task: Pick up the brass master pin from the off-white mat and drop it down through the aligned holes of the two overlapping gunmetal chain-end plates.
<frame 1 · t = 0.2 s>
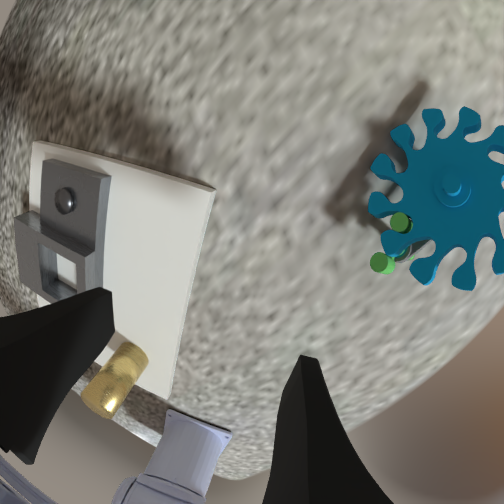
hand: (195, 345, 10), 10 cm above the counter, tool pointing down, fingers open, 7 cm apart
plate a: (74, 266, 21), resting on mat
mat: (96, 279, 23), on the counter
plate b: (65, 272, 20), resting on mat
gear: (420, 185, 15), on the counter
pin: (134, 355, 24), point 1 cm above the counter, touching mat
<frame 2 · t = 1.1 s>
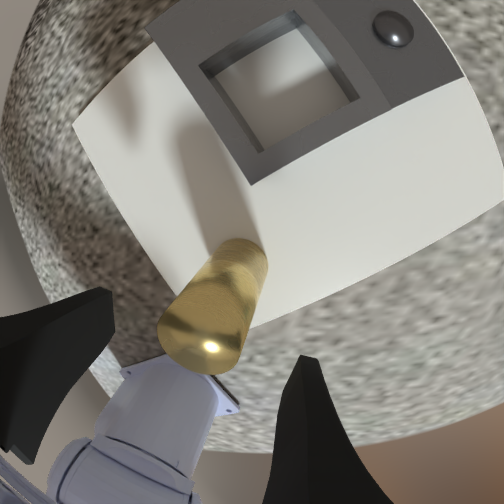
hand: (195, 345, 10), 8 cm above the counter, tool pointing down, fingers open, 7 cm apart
plate a: (282, 86, 12), resting on mat
mat: (287, 130, 14), on the counter
plate b: (279, 81, 11), resting on mat
pin: (240, 265, 16), point 1 cm above the counter, touching mat
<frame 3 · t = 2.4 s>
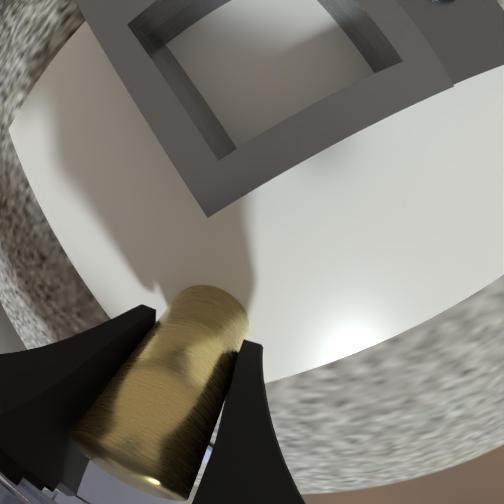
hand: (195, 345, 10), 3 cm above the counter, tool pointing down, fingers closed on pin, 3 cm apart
plate a: (266, 51, 7), resting on mat
mat: (277, 120, 9), on the counter
plate b: (260, 38, 6), resting on mat
pin: (209, 320, 11), point 1 cm above the counter, touching gripper, mat
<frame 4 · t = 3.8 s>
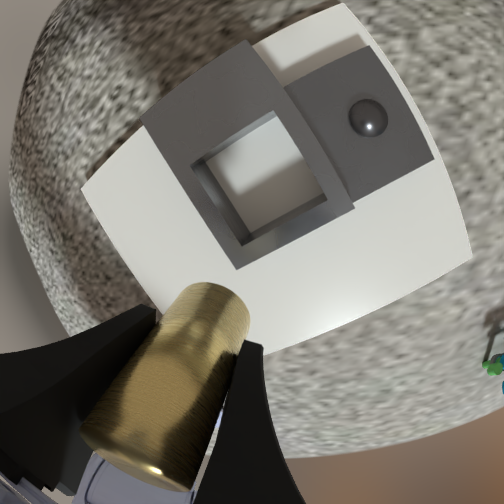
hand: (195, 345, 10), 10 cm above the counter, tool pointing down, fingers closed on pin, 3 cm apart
plate a: (264, 175, 16), resting on mat
mat: (269, 209, 17), on the counter
plate b: (260, 177, 14), resting on mat
pin: (212, 316, 11), point 8 cm above the counter, touching gripper
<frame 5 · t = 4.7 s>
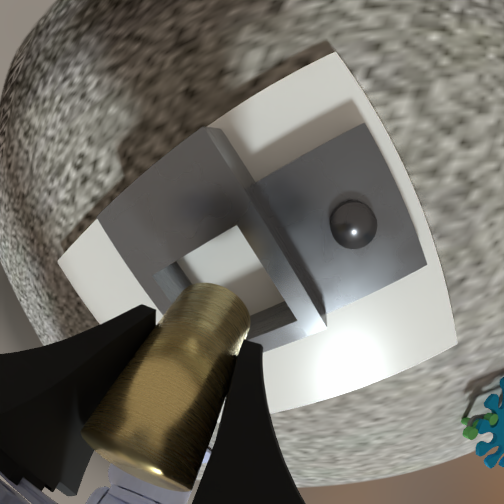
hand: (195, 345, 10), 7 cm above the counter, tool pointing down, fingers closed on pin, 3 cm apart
plate a: (234, 275, 15), resting on mat
mat: (243, 302, 16), on the counter
plate b: (228, 286, 14), resting on mat
gear: (499, 392, 16), on the counter
pin: (212, 316, 11), point 5 cm above the counter, touching gripper
when the fingers open (4 cm above the counter, at t = 5.5 s): pin stays where it is, resting on mat.
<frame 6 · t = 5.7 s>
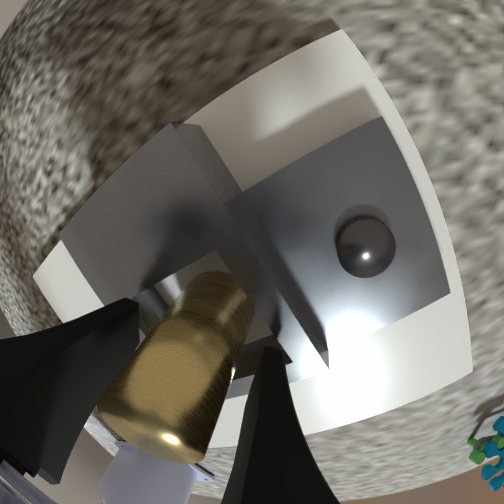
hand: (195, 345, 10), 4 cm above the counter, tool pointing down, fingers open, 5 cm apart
plate a: (219, 302, 12), resting on mat
mat: (232, 329, 14), on the counter
plate b: (211, 317, 11), resting on mat
pin: (219, 303, 12), point 1 cm above the counter, touching mat
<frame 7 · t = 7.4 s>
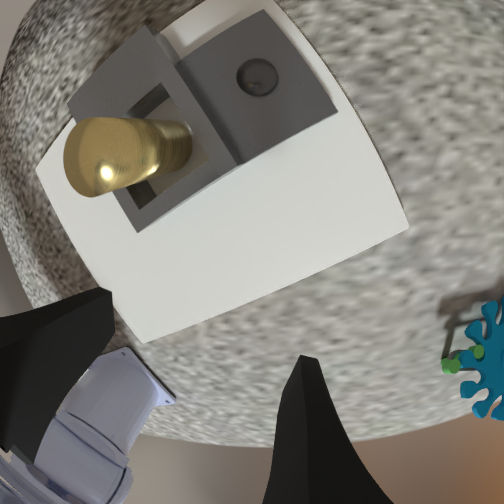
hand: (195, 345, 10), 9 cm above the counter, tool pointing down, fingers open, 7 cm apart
plate a: (168, 145, 15), resting on mat
mat: (179, 178, 17), on the counter
plate b: (158, 145, 14), resting on mat
gear: (484, 329, 17), on the counter
pin: (168, 146, 15), point 1 cm above the counter, touching mat
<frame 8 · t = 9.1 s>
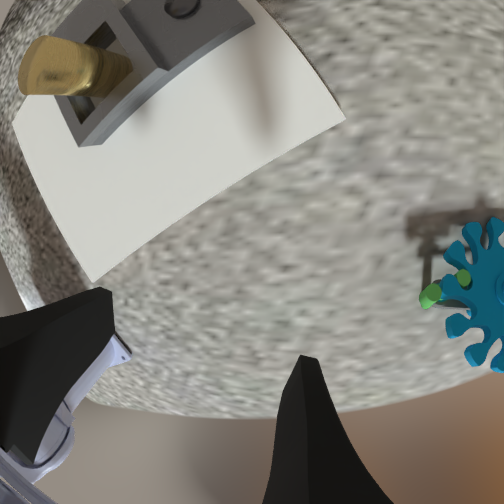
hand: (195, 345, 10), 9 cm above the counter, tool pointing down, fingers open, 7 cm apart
plate a: (114, 75, 14), resting on mat
mat: (124, 105, 16), on the counter
plate b: (103, 72, 13), resting on mat
gear: (470, 266, 16), on the counter
pin: (113, 76, 14), point 1 cm above the counter, touching mat
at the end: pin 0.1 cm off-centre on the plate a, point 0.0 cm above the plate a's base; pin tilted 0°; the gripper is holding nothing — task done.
